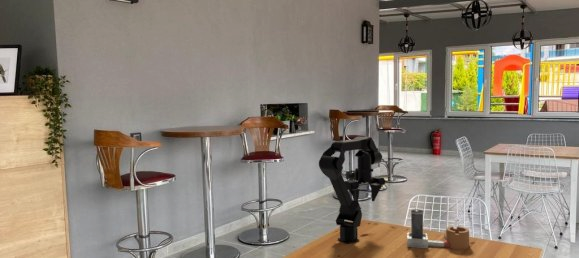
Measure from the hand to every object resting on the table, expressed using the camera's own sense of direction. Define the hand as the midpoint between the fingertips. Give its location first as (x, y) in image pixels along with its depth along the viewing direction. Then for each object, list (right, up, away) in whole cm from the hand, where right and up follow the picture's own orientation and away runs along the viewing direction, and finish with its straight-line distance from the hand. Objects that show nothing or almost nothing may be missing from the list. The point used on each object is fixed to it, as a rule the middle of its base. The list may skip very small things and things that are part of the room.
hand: (364, 202), depth 192 cm
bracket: (+34, -14, -13) cm, 39 cm away
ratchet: (+23, -14, -16) cm, 31 cm away
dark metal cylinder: (+18, -11, -15) cm, 26 cm away
